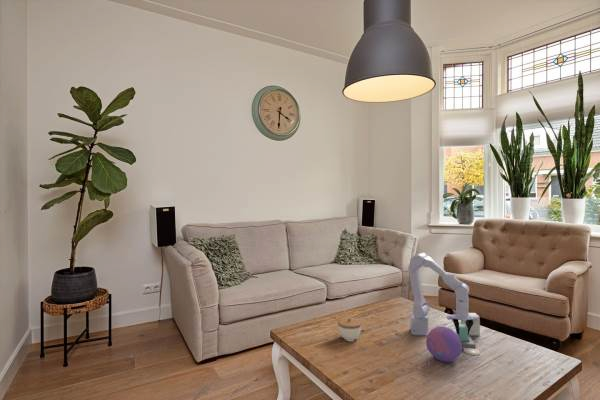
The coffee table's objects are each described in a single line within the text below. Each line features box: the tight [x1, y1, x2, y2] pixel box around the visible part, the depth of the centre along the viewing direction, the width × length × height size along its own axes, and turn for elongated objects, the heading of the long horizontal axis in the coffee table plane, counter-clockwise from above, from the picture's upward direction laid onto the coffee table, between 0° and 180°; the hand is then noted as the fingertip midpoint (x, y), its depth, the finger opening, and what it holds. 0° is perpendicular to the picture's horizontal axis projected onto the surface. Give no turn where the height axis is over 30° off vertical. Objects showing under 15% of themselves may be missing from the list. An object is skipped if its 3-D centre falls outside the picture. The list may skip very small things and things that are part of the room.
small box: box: [460, 312, 481, 336], centre depth 178 cm, size 8×6×10 cm
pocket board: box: [461, 335, 476, 349], centre depth 168 cm, size 18×10×2 cm, turn 79°
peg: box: [456, 323, 469, 342], centre depth 167 cm, size 4×4×7 cm
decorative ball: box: [425, 326, 463, 363], centre depth 151 cm, size 15×15×15 cm
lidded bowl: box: [337, 316, 362, 341], centre depth 175 cm, size 13×13×11 cm
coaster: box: [463, 348, 480, 356], centre depth 158 cm, size 7×7×1 cm
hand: (462, 333), depth 167 cm, fingers closed on peg, 4 cm apart
